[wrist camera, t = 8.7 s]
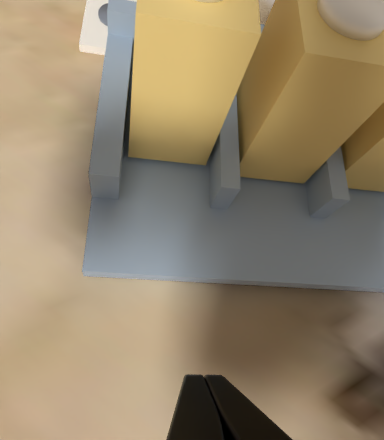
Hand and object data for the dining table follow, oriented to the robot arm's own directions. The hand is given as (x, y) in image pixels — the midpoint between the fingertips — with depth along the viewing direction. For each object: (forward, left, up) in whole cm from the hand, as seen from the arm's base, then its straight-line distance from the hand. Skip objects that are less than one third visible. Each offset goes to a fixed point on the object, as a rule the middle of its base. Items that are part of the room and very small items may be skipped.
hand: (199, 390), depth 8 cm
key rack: (+11, +7, -11) cm, 17 cm away
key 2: (+7, +12, -9) cm, 17 cm away
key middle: (+12, +9, -9) cm, 17 cm away
